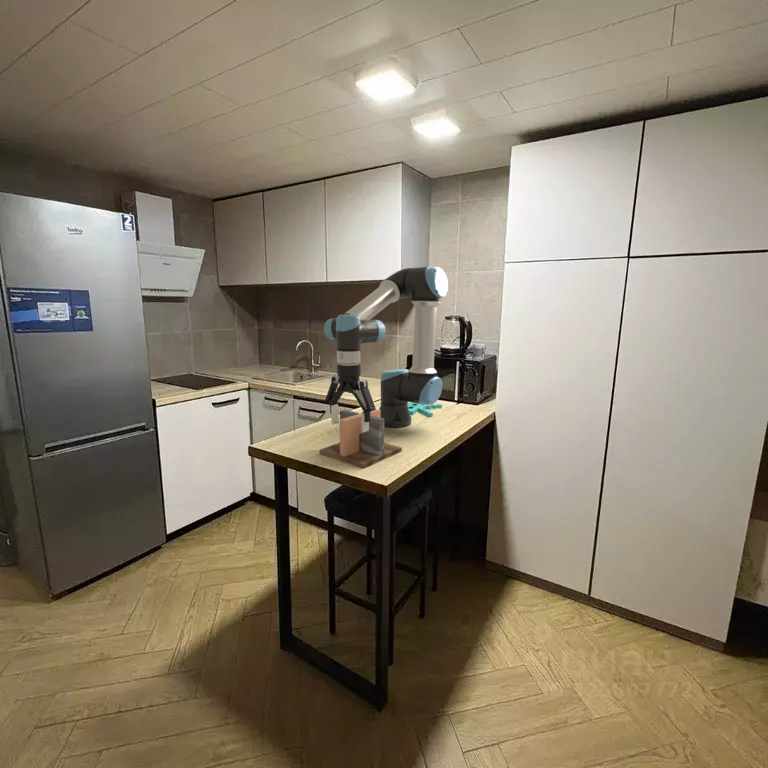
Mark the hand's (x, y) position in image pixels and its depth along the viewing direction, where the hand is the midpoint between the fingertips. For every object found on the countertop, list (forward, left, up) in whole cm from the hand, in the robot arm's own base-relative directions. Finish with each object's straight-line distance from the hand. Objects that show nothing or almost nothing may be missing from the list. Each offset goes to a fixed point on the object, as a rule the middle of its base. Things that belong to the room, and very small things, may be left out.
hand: (349, 427), depth 138 cm
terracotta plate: (-6, 0, -9) cm, 10 cm away
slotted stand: (-6, 0, -10) cm, 12 cm away
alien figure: (-68, -19, -11) cm, 71 cm away
